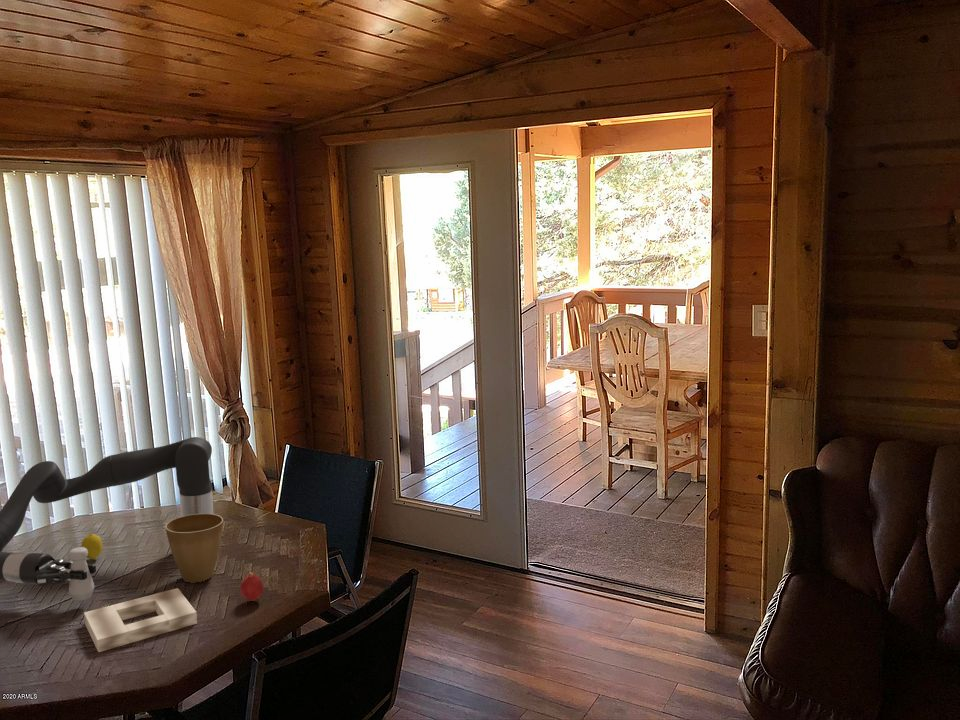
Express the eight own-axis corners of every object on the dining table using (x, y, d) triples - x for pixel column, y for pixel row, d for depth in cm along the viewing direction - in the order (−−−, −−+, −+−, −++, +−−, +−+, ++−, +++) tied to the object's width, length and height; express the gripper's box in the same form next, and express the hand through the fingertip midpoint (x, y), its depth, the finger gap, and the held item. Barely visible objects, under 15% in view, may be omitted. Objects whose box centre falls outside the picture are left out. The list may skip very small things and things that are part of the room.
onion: (243, 596, 201) (242, 567, 199) (266, 595, 201) (264, 567, 200) (238, 607, 195) (237, 577, 194) (261, 606, 195) (260, 576, 194)
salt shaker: (100, 594, 196) (96, 546, 194) (82, 604, 191) (77, 555, 189) (82, 590, 198) (78, 543, 196) (64, 600, 193) (59, 552, 191)
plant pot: (236, 576, 212) (233, 521, 210) (184, 594, 202) (181, 537, 199) (209, 561, 223) (206, 508, 220) (159, 577, 212) (155, 522, 209)
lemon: (94, 564, 220) (92, 538, 219) (78, 562, 221) (75, 536, 220) (107, 556, 226) (105, 530, 224) (91, 555, 227) (89, 529, 225)
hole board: (178, 598, 199) (177, 587, 199) (197, 623, 187) (196, 611, 186) (85, 624, 186) (84, 612, 186) (98, 652, 174) (97, 640, 173)
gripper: (6, 565, 188) (70, 570, 186) (46, 543, 202) (106, 546, 199) (9, 594, 189) (73, 599, 187) (48, 569, 203) (109, 574, 201)
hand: (90, 572), depth 193 cm, fingers closed on salt shaker, 3 cm apart
